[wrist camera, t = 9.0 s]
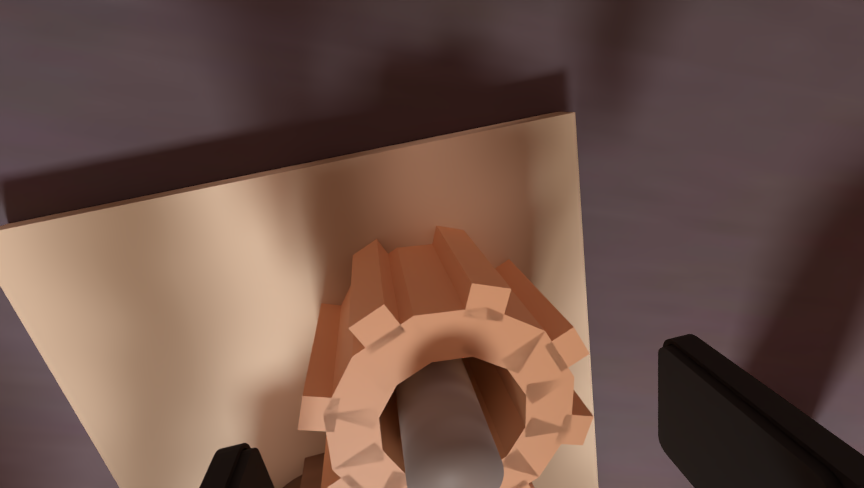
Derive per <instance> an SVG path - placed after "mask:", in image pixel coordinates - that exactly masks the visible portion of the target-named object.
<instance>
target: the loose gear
mask: <svg viewBox="0 0 864 488" xmlns="http://www.w3.org/2000/svg"><path fill="white" fill-rule="evenodd" d="M589 354H590V353H589V351H588V350H587V348H586V346H585V345H584V343H583V341H582V340H581V338H580V336H579V335H578V333H577V331H576V330H575V328H574V327H573V326H572V325H571V324H570V322H569V321H568V320H567V319H566V318H565V317H564V316H563V315H562V314H561V313H560V312H559V311H558V310H557V309H556V308H555V307H554V306H553V305H552V304H551V303H550V301H549V300H548V299H547V298H546V297H545V296H544V295H543V294H542V293H541V292H540V291H539V290H538V289H537V288H536V287H535V286H534V285H533V284H532V283H531V282H530V280H529V279H528V278H527V277H526V276H525V275H524V274H523V273H522V272H521V271H520V270H519V269H518V268H517V267H516V266H515V265H514V264H513V263H512V262H511V261H510V259H508V260H507V261H505V262H504V263H502V264H501V265H499V266H498V267H496V268H494V267H493V265H492V264H491V263H490V262H489V260H488V259H487V258H486V257H485V256H484V254H483V253H482V252H481V251H480V249H479V248H478V247H477V246H476V244H475V243H474V242H473V241H472V240H471V238H470V237H469V236H468V235H467V233H466V232H465V231H464V230H461V229H455V228H449V227H442V226H436V229H435V234H434V238H433V243H432V244H428V245H418V246H408V247H398V248H396V249H394V250H393V251H391V252H390V253H387V252H386V250H385V249H384V248H383V246H382V245H381V244H380V242H379V241H378V240H377V239H376V240H374V241H373V242H371V243H370V244H368V245H367V246H365V247H364V248H362V249H361V250H360V251H358V252H357V253H355V254H354V255H353V259H352V275H351V286H350V288H349V290H348V292H347V294H346V296H345V298H344V300H343V302H342V305H333V304H324V303H321V307H320V312H319V317H318V322H317V327H316V332H315V337H314V342H313V346H312V351H311V356H310V361H309V366H308V371H307V376H306V381H305V386H304V391H303V396H302V402H301V409H300V416H299V423H298V430H308V431H326V444H325V454H324V463H323V472H322V482H321V488H407V483H406V474H405V466H404V457H403V449H402V440H401V432H400V423H399V415H398V407H397V398H396V390H395V387H396V386H397V385H398V384H399V383H401V382H402V381H404V380H405V379H407V378H408V377H410V376H411V375H413V374H415V373H416V372H418V371H419V370H421V369H422V368H424V367H425V366H427V365H428V364H430V363H431V362H437V361H444V360H452V359H459V358H462V361H463V363H464V366H465V368H466V371H467V373H468V376H469V379H470V381H471V384H472V386H473V389H474V391H475V394H476V396H477V399H478V401H479V404H480V407H481V409H482V412H483V414H484V417H485V419H486V422H487V424H488V427H489V429H490V432H491V435H492V437H493V440H494V442H495V445H496V447H497V450H498V452H499V455H500V457H501V460H502V463H503V467H504V477H503V481H502V484H501V486H500V488H534V486H533V483H532V481H534V480H535V479H537V478H538V477H539V476H540V475H541V473H542V472H543V471H544V469H545V468H546V466H547V465H548V463H549V462H550V460H551V459H552V457H553V456H554V454H555V453H556V451H557V450H558V448H559V447H560V445H561V444H568V445H583V443H584V441H585V438H586V436H587V433H588V430H589V428H590V425H591V422H592V420H593V417H594V416H593V415H592V413H591V412H590V411H589V409H588V408H587V407H586V405H585V404H584V403H583V401H582V400H581V399H580V397H579V396H578V395H577V393H576V392H575V391H574V376H573V374H572V372H571V371H570V369H569V367H570V366H572V365H573V364H575V363H576V362H578V361H579V360H581V359H582V358H584V357H586V356H587V355H589Z"/></svg>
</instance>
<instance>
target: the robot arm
mask: <svg viewBox="0 0 864 488" xmlns="http://www.w3.org/2000/svg"><path fill="white" fill-rule="evenodd" d="M658 437H659V441H660V444H661V446H662V448H663V450H664V452H665V453H666V454H667V455H668V457H669V458H670V459H671V460H672V461H673V463H674V464H675V465H676V466H677V467H678V469H679V470H680V471H681V472H682V473H683V475H684V476H685V477H686V478H687V479H688V480H689V482H690V483H691V484H692V485H693V486H694V488H864V456H863V455H862V454H860V453H859V452H858V451H856V450H855V449H853V448H852V447H851V446H849V445H848V444H846V443H845V442H844V441H842V440H841V439H839V438H838V437H837V436H835V435H834V434H832V433H831V432H830V431H828V430H827V429H825V428H824V427H823V426H821V425H820V424H818V423H817V422H816V421H814V420H813V419H811V418H810V417H809V416H807V415H806V414H804V413H803V412H802V411H800V410H799V409H797V408H796V407H795V406H793V405H792V404H790V403H789V402H788V401H786V400H785V399H783V398H782V397H781V396H779V395H778V394H776V393H775V392H774V391H772V390H771V389H769V388H768V387H767V386H765V385H764V384H762V383H761V382H760V381H758V380H757V379H755V378H754V377H753V376H751V375H750V374H748V373H747V372H746V371H744V370H743V369H741V368H740V367H739V366H737V365H736V364H734V363H733V362H732V361H730V360H729V359H727V358H726V357H725V356H723V355H722V354H720V353H719V352H718V351H716V350H715V349H713V348H712V347H711V346H709V345H708V344H706V343H705V342H704V341H702V340H701V339H699V338H698V337H697V336H695V335H692V334H688V335H684V336H679V337H675V338H671V339H668V340H666V341H665V342H664V344H663V347H662V348H660V349H659V352H658ZM199 488H274V485H273V483H272V480H271V478H270V476H269V473H268V471H267V468H266V466H265V464H264V461H263V459H262V456H261V454H260V452H259V450H258V449H257V448H251V447H250V446H249V444H247V443H241V444H237V445H233V446H229V447H225V448H221V449H219V450H217V451H216V453H215V454H214V456H213V458H212V461H211V463H210V465H209V467H208V470H207V472H206V474H205V476H204V478H203V481H202V483H201V485H200V487H199Z"/></svg>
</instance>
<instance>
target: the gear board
mask: <svg viewBox="0 0 864 488" xmlns="http://www.w3.org/2000/svg"><path fill="white" fill-rule="evenodd" d="M436 226H442V227H449V228H455V229H461V230H464V231H465V232H466V233H467V235H468V236H469V237H470V238H471V240H472V241H473V242H474V243H475V244H476V246H477V247H478V248H479V249H480V251H481V252H482V253H483V254H484V256H485V257H486V258H487V259H488V260H489V262H490V263H491V264H492V265H493V267H494V268H496V267H498V266H499V265H501V264H502V263H504V262H505V261H507V260H508V259H510V261H511V262H512V263H513V264H514V265H515V266H516V267H517V268H518V269H519V270H520V271H521V272H522V273H523V274H524V275H525V276H526V277H527V278H528V279H529V280H530V282H531V283H532V284H533V285H534V286H535V287H536V288H537V289H538V290H539V291H540V292H541V293H542V294H543V295H544V296H545V297H546V298H547V299H548V300H549V301H550V303H551V304H552V305H553V306H554V307H555V308H556V309H557V310H558V311H559V312H560V313H561V314H562V315H563V316H564V317H565V318H566V319H567V320H568V321H569V322H570V324H571V325H572V326H573V327H574V328H575V330H576V331H577V333H578V335H579V336H580V338H581V340H582V341H583V343H584V345H585V346H586V348H587V350H588V351H589V353H590V345H589V329H588V313H587V297H586V281H585V265H584V249H583V233H582V217H581V200H580V184H579V168H578V152H577V136H576V120H575V112H554V113H549V114H544V115H539V116H534V117H529V118H524V119H519V120H514V121H509V122H505V123H500V124H495V125H490V126H485V127H480V128H475V129H470V130H465V131H460V132H456V133H451V134H446V135H441V136H436V137H431V138H426V139H421V140H416V141H411V142H407V143H402V144H397V145H392V146H387V147H382V148H377V149H372V150H367V151H362V152H358V153H353V154H348V155H343V156H338V157H333V158H328V159H323V160H318V161H313V162H309V163H304V164H299V165H294V166H289V167H284V168H279V169H274V170H269V171H264V172H260V173H255V174H250V175H245V176H240V177H235V178H230V179H225V180H220V181H215V182H211V183H206V184H201V185H196V186H191V187H186V188H181V189H176V190H171V191H166V192H162V193H157V194H152V195H147V196H142V197H137V198H132V199H127V200H122V201H117V202H113V203H108V204H103V205H98V206H93V207H88V208H83V209H78V210H73V211H68V212H64V213H59V214H54V215H49V216H44V217H39V218H34V219H29V220H24V221H19V222H15V223H10V224H6V225H3V226H0V286H1V288H2V289H3V291H4V293H5V295H6V296H7V298H8V300H9V301H10V303H11V305H12V306H13V308H14V310H15V311H16V313H17V315H18V316H19V318H20V320H21V322H22V323H23V325H24V327H25V328H26V330H27V332H28V333H29V335H30V337H31V338H32V340H33V342H34V344H35V345H36V347H37V349H38V350H39V352H40V354H41V355H42V357H43V359H44V360H45V362H46V364H47V365H48V367H49V369H50V371H51V372H52V374H53V376H54V377H55V379H56V381H57V382H58V384H59V386H60V387H61V389H62V391H63V393H64V394H65V396H66V398H67V399H68V401H69V403H70V404H71V406H72V408H73V409H74V411H75V413H76V414H77V416H78V418H79V420H80V421H81V423H82V425H83V426H84V428H85V430H86V431H87V433H88V435H89V436H90V438H91V440H92V442H93V443H94V445H95V447H96V448H97V450H98V452H99V453H100V455H101V457H102V458H103V460H104V462H105V464H106V465H107V467H108V469H109V470H110V472H111V474H112V475H113V477H114V479H115V480H116V482H117V484H118V485H119V487H120V488H199V487H200V485H201V483H202V481H203V478H204V476H205V474H206V472H207V470H208V467H209V465H210V463H211V461H212V458H213V456H214V454H215V453H216V451H217V450H219V449H221V448H225V447H229V446H233V445H237V444H241V443H247V444H249V446H250V447H251V448H257V449H258V450H259V452H260V454H261V456H262V459H263V461H264V464H265V466H266V468H267V471H268V473H269V476H270V478H271V480H272V483H273V485H274V488H321V482H322V472H323V463H324V454H325V444H326V431H308V430H298V423H299V416H300V409H301V402H302V396H303V391H304V386H305V381H306V376H307V371H308V366H309V361H310V356H311V351H312V346H313V342H314V337H315V332H316V327H317V322H318V317H319V312H320V307H321V303H324V304H333V305H342V302H343V300H344V298H345V296H346V294H347V292H348V290H349V288H350V286H351V275H352V259H353V255H354V254H355V253H357V252H358V251H360V250H361V249H362V248H364V247H365V246H367V245H368V244H370V243H371V242H373V241H374V240H376V239H377V240H378V241H379V242H380V244H381V245H382V246H383V248H384V249H385V250H386V252H387V253H390V252H391V251H393V250H394V249H396V248H398V247H408V246H418V245H428V244H432V243H433V238H434V234H435V229H436ZM569 369H570V371H571V372H572V374H573V376H574V391H575V392H576V393H577V395H578V396H579V397H580V399H581V400H582V401H583V403H584V404H585V405H586V407H587V408H588V409H589V411H590V412H591V413H592V415H593V416H594V410H593V394H592V378H591V362H590V354H589V355H587V356H586V357H584V358H582V359H581V360H579V361H578V362H576V363H575V364H573V365H572V366H570V367H569ZM395 390H396V398H397V407H398V415H399V423H400V432H401V440H402V449H403V457H404V466H405V474H406V483H407V488H500V486H501V484H502V481H503V477H504V467H503V463H502V460H501V457H500V455H499V452H498V450H497V447H496V445H495V442H494V440H493V437H492V435H491V432H490V429H489V427H488V424H487V422H486V419H485V417H484V414H483V412H482V409H481V407H480V404H479V401H478V399H477V396H476V394H475V391H474V389H473V386H472V384H471V381H470V379H469V376H468V373H467V371H466V368H465V366H464V363H463V361H462V358H459V359H452V360H444V361H437V362H431V363H430V364H428V365H427V366H425V367H424V368H422V369H421V370H419V371H418V372H416V373H415V374H413V375H411V376H410V377H408V378H407V379H405V380H404V381H402V382H401V383H399V384H398V385H397V386H396V387H395ZM532 483H533V486H534V488H598V474H597V458H596V442H595V426H594V417H593V420H592V422H591V425H590V428H589V430H588V433H587V436H586V438H585V441H584V443H583V445H568V444H561V445H560V447H559V448H558V450H557V451H556V453H555V454H554V456H553V457H552V459H551V460H550V462H549V463H548V465H547V466H546V468H545V469H544V471H543V472H542V473H541V475H540V476H539V477H538V478H537V479H535V480H534V481H532Z"/></svg>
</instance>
